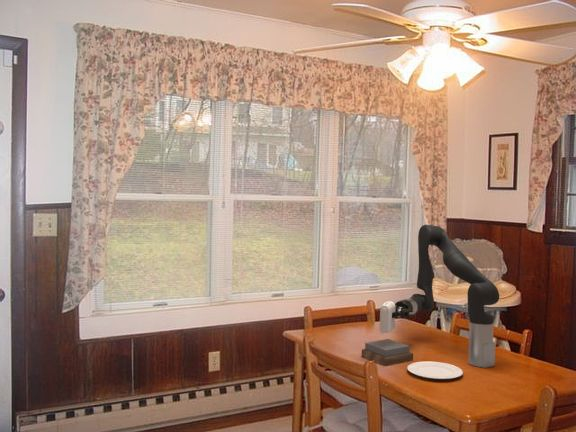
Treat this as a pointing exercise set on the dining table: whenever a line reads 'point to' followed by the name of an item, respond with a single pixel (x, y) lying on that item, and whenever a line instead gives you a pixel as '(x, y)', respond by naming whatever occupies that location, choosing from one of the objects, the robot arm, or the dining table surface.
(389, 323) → the photo printer
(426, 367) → the plate
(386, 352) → the top brick
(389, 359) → the base brick
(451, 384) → the dining table surface
